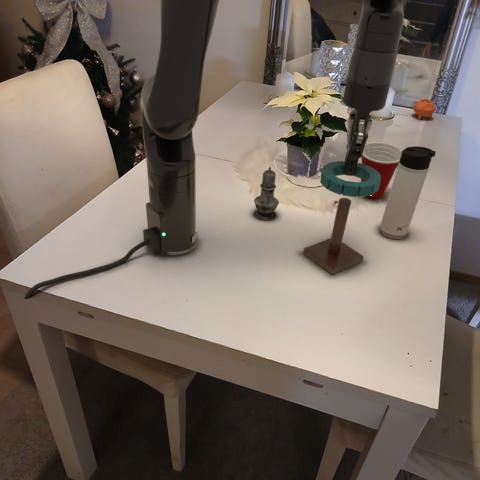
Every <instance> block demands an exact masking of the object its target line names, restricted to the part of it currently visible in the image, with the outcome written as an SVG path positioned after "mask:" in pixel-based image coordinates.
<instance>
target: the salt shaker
mask: <svg viewBox="0 0 480 480" xmlns="http://www.w3.org/2000/svg"><path fill="white" fill-rule="evenodd" d="M276 176H277V175H276V172H275V171H274V170H272V167H271V166H269V167H268V169H266V170H264V171H263V173H262V182H261V184H260V185H259V186H260V188H261V189H260V195H258V196H256V197H255V198H254V200H253V203H254V205H255V209H256V210H255V211H254V212H253V214H254V217H255V218H256V219H258V220H261V221H272V220H274V219H276V217H277V213H276V212H275V211H276V209H277V208H278V205H279V204H280V201H279V199H278V198H277V197H275V189H277V186H276V184H275V183H276Z"/></svg>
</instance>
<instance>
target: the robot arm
mask: <svg viewBox="0 0 480 480" xmlns="http://www.w3.org/2000/svg"><path fill="white" fill-rule="evenodd" d="M219 2H220V0H160V44H159V53H158V58H157V59H158V60H157V64H156V68H155V73H154V74H152V75H150V77H148V78H147V80H146V81H145V82H144V84H143V86H142V89H141V92H140V113H141V125H142V135H143V136H142V137H143V147H144V153H145V162H146V169H147V170H146V171H147V172H146V173H147V186H148V197H149V199H148V200H149V202H146V203H145V211H146V225H147V228H144V229H143V230H142V234H143V241H141V242H140V243H138V244H136V245H135V246H133V247H132V248H130V249H129V250H128V252H127V253H126V254H125V255H124V256H123V257H122V258H120V259H118V260H116V261H114V262H111V263H108V264H104V265H101V266H96V267H93V268H90V269H85V270H82V271H78V272H72V273H68V274H64V275H61V276H57V277H54V278H51V279H47V280H44V281H41V282H37V283H36V284H34V285H33V286H32V287H30V289H29V290H27V292H26V294H25V295H24V297H23V299H24V300H28V299H30V298H31V297H32V295H34V293H36V292H37V291H38V290H40V289H41V288H44V287H47V286H50V285H51V286H52V285H54V284H57V283H60V282H63V281H66V280H70V279H76V278H79V277H84V276H88V275H92V274H95V273H98V272H102V271H106V270H109V269H112V268H115V267H118V266H120V265H122V264H123V263H125V262H127V261H128V260H129V259H130V258H131V257H132V255H133V254H135V253H136V252H137V251H139V250H140V249H142V248H143V247H145V246H147V247H148V248H149V249H150V250H151V251H152V252H153V253H156V252H157V253H158V254H159V255H160V256H161V257H166V256H182V255H186V254H189V253H191V252H192V251H193V250H194V249H195V248H196V247H197V238H198V237H199V231H198V230H197V229H196V228H197V203H196V202H197V200H196V199H197V198H196V197H197V196H196V195H197V192H196V190H197V189H196V187H197V186H196V185H197V184H196V183H197V181H196V180H197V179H196V178H197V177H196V176H197V175H196V174H197V172H196V169H197V168H196V160H197V159H196V158H197V157H196V151H195V146H194V137H193V129H194V127H195V126H196V124H197V122H198V118H199V112H200V102H201V94H202V85H203V76H204V67H205V63H206V57H207V51H208V48H209V43H210V40H211V37H212V34H213V33H212V32H213V29H214V25H215V19H216V16H217V11H218V8H219ZM403 3H404V0H362V5H361V12H360V18H359V21H358V26H357V31H356V37H355V41H354V47H353V50H352V52H351V53H352V54H351V57H350V60H349V65H348V71H347V77H346V80H345V81H346V82H345V86H344V92H343V97H342V102H343V104H344V105H345V106H346V107H347V108H350V109H352V110H351V112H349V115H348V120H347V121H348V126H347V131H346V145H345V148H346V153H345V156H344V157H345V158H344V161H346V163H345V168H344V175H343V176H350V177H355V176H354V175H355V173H356V168H357V164H358V163H359V159H362V153H363V150H364V147H365V144H367V140H368V139H369V131H370V130H371V128H372V124H373V119H372V114H371V113H372V112H378V111H381V110H383V109H384V108H385V106H386V103H387V99H388V96H389V92H390V88H391V83H392V79H393V74H394V70H395V66H396V59H397V52H398V48H399V44H400V40H401V36H402V32H403V28H404V22H405V13H404V8H403Z"/></svg>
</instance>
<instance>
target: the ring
mask: <svg viewBox="0 0 480 480" xmlns="http://www.w3.org/2000/svg"><path fill="white" fill-rule="evenodd" d="M345 163H346V161H345V160H338V161H330V162H328V163H327V164H325V165H323V166H322V167H321V171H320V172H321V177H320V183H321V184H322V185H323V186H322V187H324V188H325V189H326V190H328V191H329V192H332V193H334V194H337V195H339V196H341V195H342V196H344V197H351V198H352V197H353V198H357V197H358V198H361V197H363V196H370V195H373V194H374V193H375V192H377V191H378V190H379V186H380V183H381V175H380V173H379V172H377V171H376V170H375V169H373V168H371V167H370V166H367V165H364V164H362V162H361V163H360V162H358V164H357V168H356V173H355V175H354V176H353V177H356V178H358V179H360V180H361V179H363V180H364V181H362V182H361V181H350V180H345V179H343V178H340V177H338V176H345V175H344V168H345Z"/></svg>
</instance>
